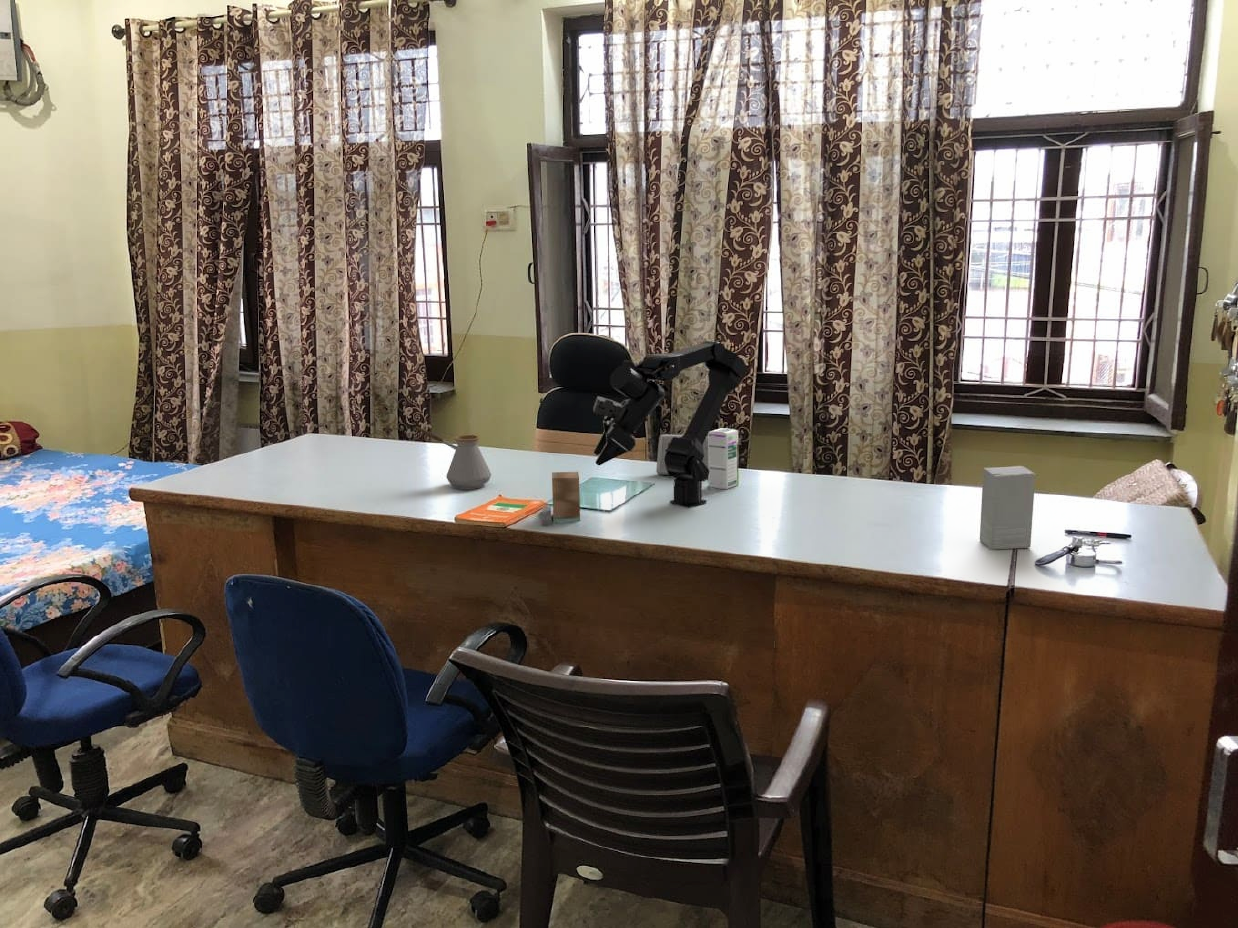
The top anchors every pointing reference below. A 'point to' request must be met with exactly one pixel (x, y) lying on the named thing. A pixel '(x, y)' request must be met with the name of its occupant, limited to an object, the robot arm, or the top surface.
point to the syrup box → (723, 458)
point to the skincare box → (1007, 507)
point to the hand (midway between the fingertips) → (596, 458)
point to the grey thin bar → (546, 515)
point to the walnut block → (565, 496)
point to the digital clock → (663, 445)
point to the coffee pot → (465, 462)
